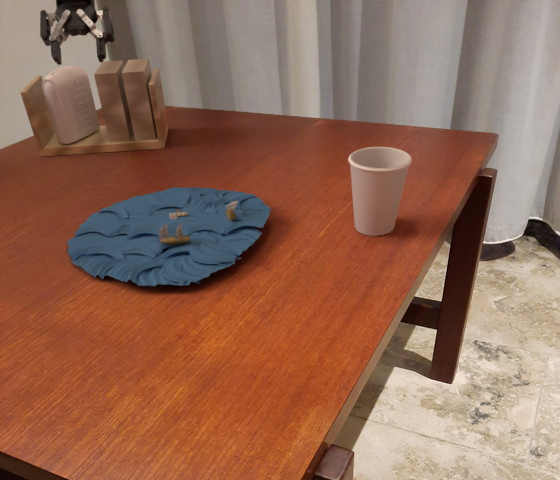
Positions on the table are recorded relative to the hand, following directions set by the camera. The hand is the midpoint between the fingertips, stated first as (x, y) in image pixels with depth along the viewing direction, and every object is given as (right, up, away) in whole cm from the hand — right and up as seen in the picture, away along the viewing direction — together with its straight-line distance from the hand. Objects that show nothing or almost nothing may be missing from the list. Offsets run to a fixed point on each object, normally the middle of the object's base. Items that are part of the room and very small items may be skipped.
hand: (79, 61), depth 112 cm
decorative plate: (+25, -44, -32) cm, 60 cm away
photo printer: (+1, -16, -1) cm, 16 cm away
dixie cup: (+54, -42, -32) cm, 76 cm away
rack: (+6, -17, 0) cm, 17 cm away
